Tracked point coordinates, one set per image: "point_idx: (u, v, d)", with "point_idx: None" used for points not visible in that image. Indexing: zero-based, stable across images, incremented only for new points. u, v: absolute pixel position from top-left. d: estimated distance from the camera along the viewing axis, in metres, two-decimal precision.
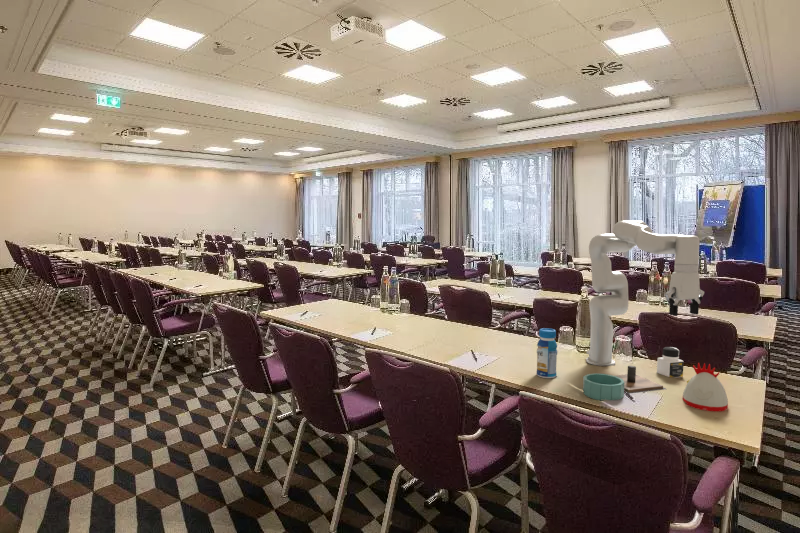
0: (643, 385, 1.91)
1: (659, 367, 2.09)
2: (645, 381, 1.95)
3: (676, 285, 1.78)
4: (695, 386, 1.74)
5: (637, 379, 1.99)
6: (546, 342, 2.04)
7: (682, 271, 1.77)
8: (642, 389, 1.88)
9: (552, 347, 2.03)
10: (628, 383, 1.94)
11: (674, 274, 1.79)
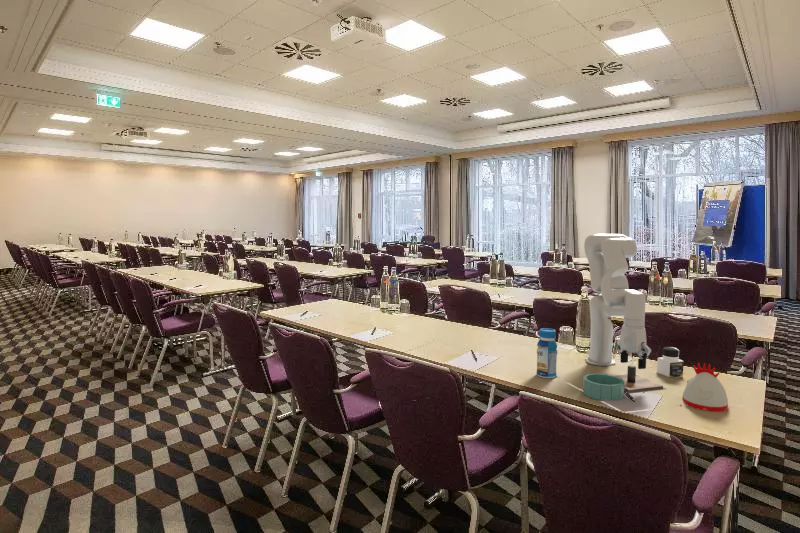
0: (643, 385, 1.91)
1: (659, 367, 2.09)
2: (645, 381, 1.95)
3: (644, 340, 1.90)
4: (695, 386, 1.74)
5: (637, 379, 1.99)
6: (546, 342, 2.04)
7: (643, 326, 1.91)
8: (642, 389, 1.88)
9: (552, 347, 2.03)
10: (628, 383, 1.94)
11: (641, 330, 1.89)
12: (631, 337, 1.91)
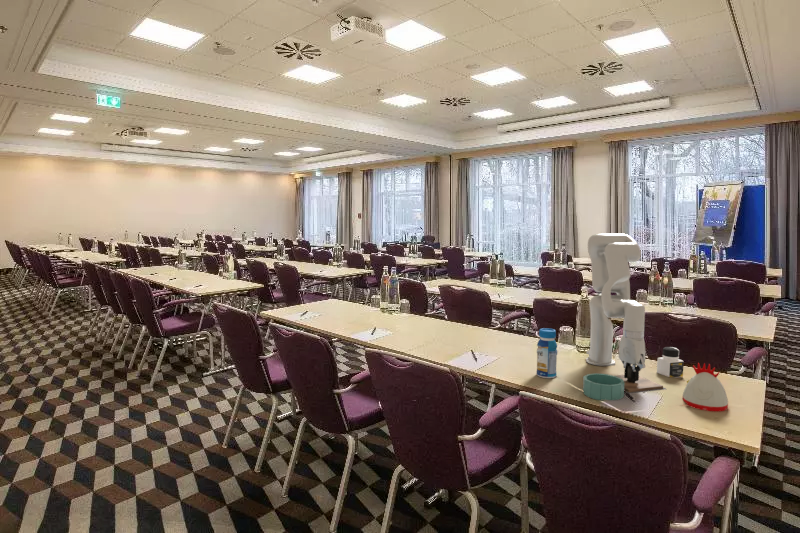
0: (643, 385, 1.91)
1: (659, 367, 2.09)
2: (645, 381, 1.95)
3: (643, 351, 1.90)
4: (695, 386, 1.74)
5: None
6: (546, 342, 2.04)
7: (642, 337, 1.92)
8: (642, 389, 1.88)
9: (552, 347, 2.03)
10: (628, 383, 1.94)
11: (640, 342, 1.90)
12: (630, 349, 1.92)
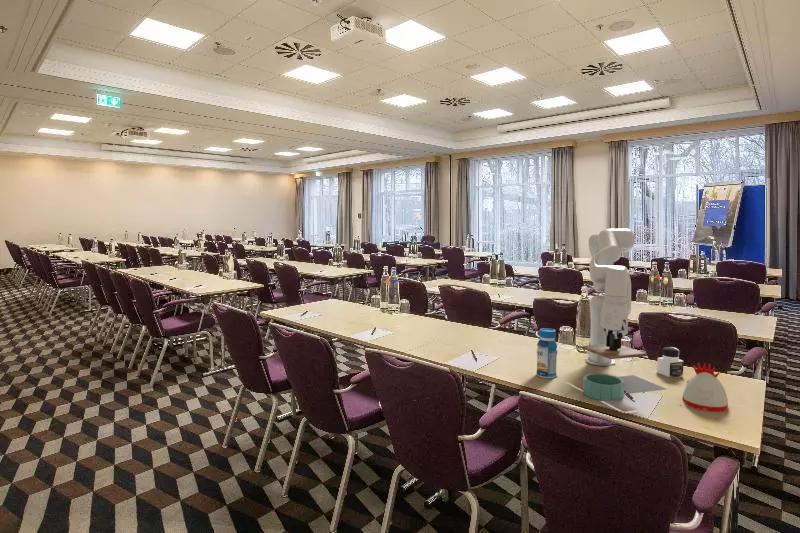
0: (626, 352, 1.82)
1: (659, 367, 2.09)
2: (628, 350, 1.86)
3: (625, 317, 1.81)
4: (695, 386, 1.74)
5: None
6: (546, 342, 2.04)
7: (625, 303, 1.83)
8: (624, 356, 1.79)
9: (552, 347, 2.03)
10: (610, 351, 1.84)
11: (622, 307, 1.81)
12: (612, 314, 1.83)
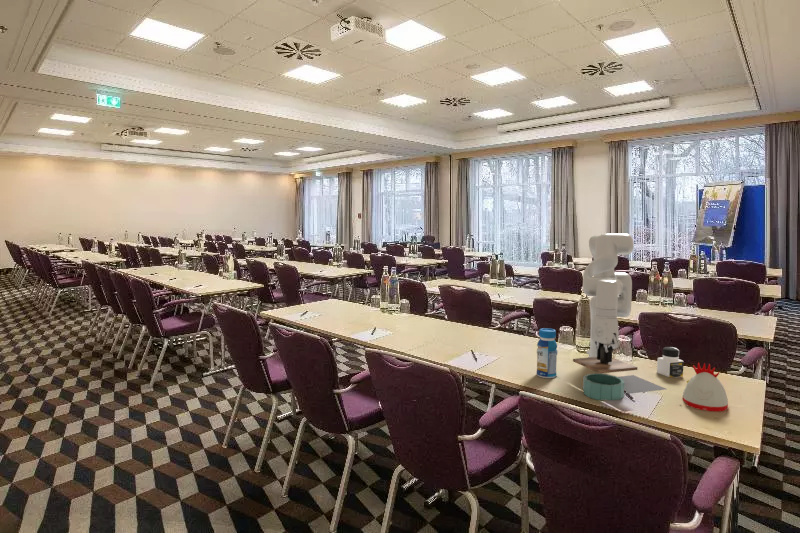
0: (616, 366, 1.79)
1: (659, 367, 2.09)
2: (619, 363, 1.84)
3: (616, 330, 1.79)
4: (695, 386, 1.74)
5: None
6: (546, 342, 2.04)
7: (615, 316, 1.80)
8: (614, 370, 1.76)
9: (552, 347, 2.03)
10: (601, 364, 1.82)
11: (612, 320, 1.78)
12: (602, 328, 1.81)
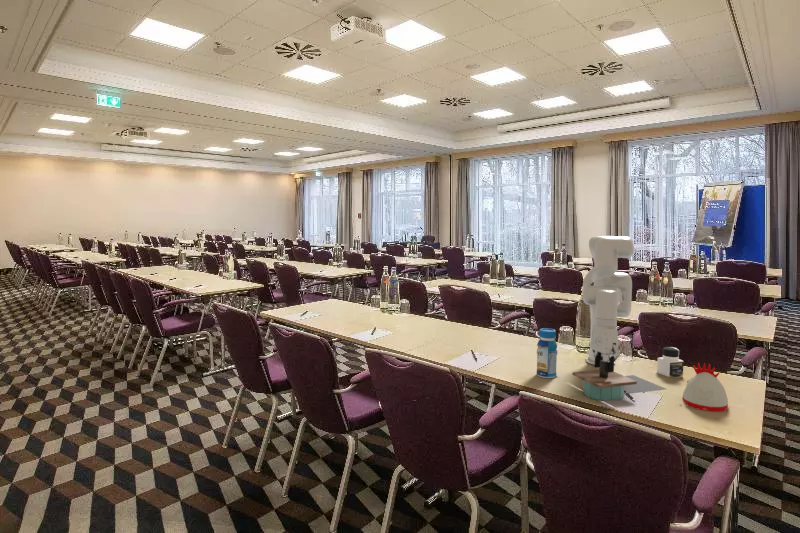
0: (615, 380, 1.80)
1: (659, 367, 2.09)
2: (618, 377, 1.85)
3: (616, 340, 1.79)
4: (695, 386, 1.74)
5: (611, 374, 1.88)
6: (546, 342, 2.04)
7: (615, 325, 1.80)
8: (614, 385, 1.77)
9: (552, 347, 2.03)
10: (600, 378, 1.83)
11: (612, 330, 1.79)
12: (602, 337, 1.81)
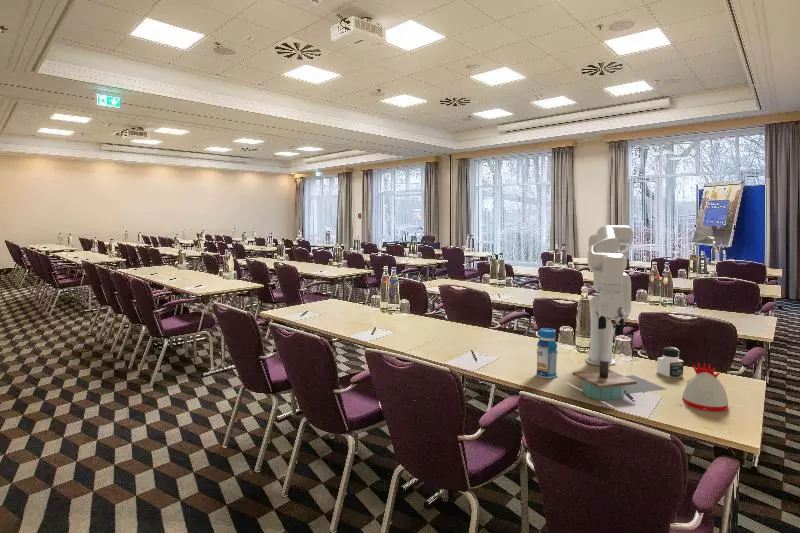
0: (615, 380, 1.80)
1: (659, 367, 2.09)
2: (618, 377, 1.85)
3: (622, 305, 1.82)
4: (695, 386, 1.74)
5: (611, 374, 1.88)
6: (546, 342, 2.04)
7: (621, 290, 1.83)
8: (614, 385, 1.77)
9: (552, 347, 2.03)
10: (600, 378, 1.83)
11: (618, 295, 1.82)
12: (608, 302, 1.84)
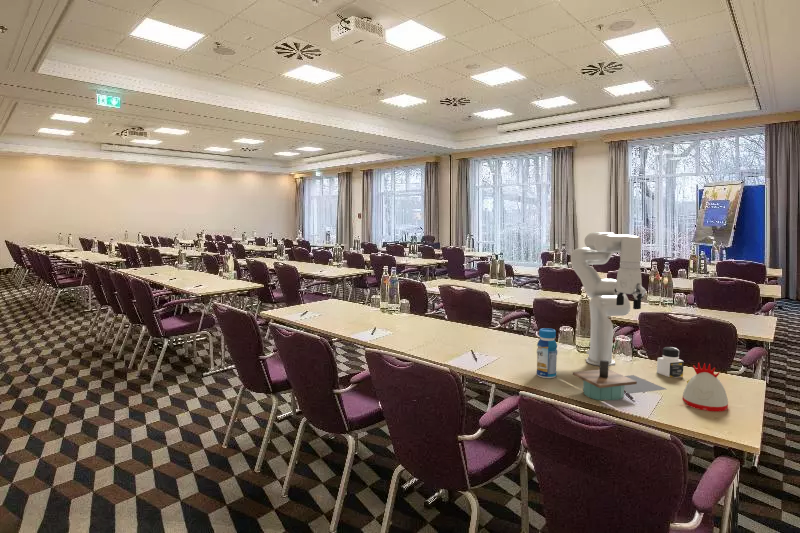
0: (615, 380, 1.80)
1: (659, 367, 2.09)
2: (618, 377, 1.85)
3: (639, 281, 1.97)
4: (695, 386, 1.74)
5: (611, 374, 1.88)
6: (546, 342, 2.04)
7: (639, 268, 1.98)
8: (614, 385, 1.77)
9: (552, 347, 2.03)
10: (600, 378, 1.83)
11: (636, 271, 1.96)
12: (627, 279, 1.98)
